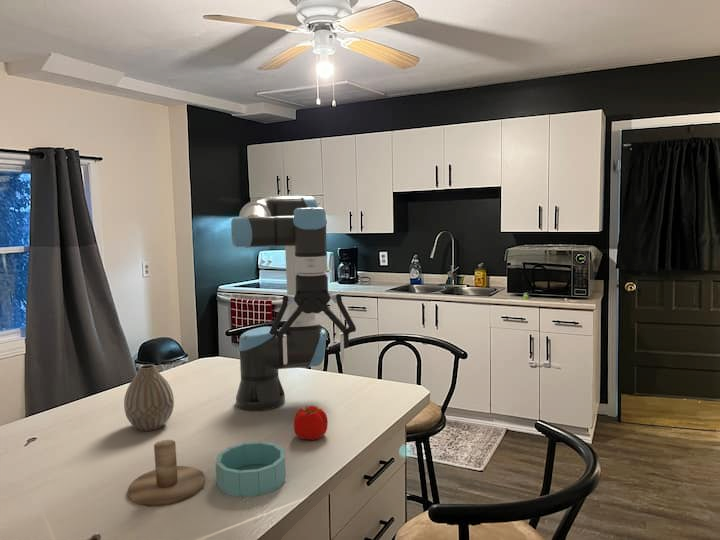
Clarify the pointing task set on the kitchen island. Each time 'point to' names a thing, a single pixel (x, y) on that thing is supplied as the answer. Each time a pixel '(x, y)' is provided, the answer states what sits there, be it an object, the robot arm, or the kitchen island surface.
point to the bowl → (250, 469)
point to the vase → (148, 399)
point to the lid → (166, 479)
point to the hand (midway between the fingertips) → (314, 361)
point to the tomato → (310, 423)
